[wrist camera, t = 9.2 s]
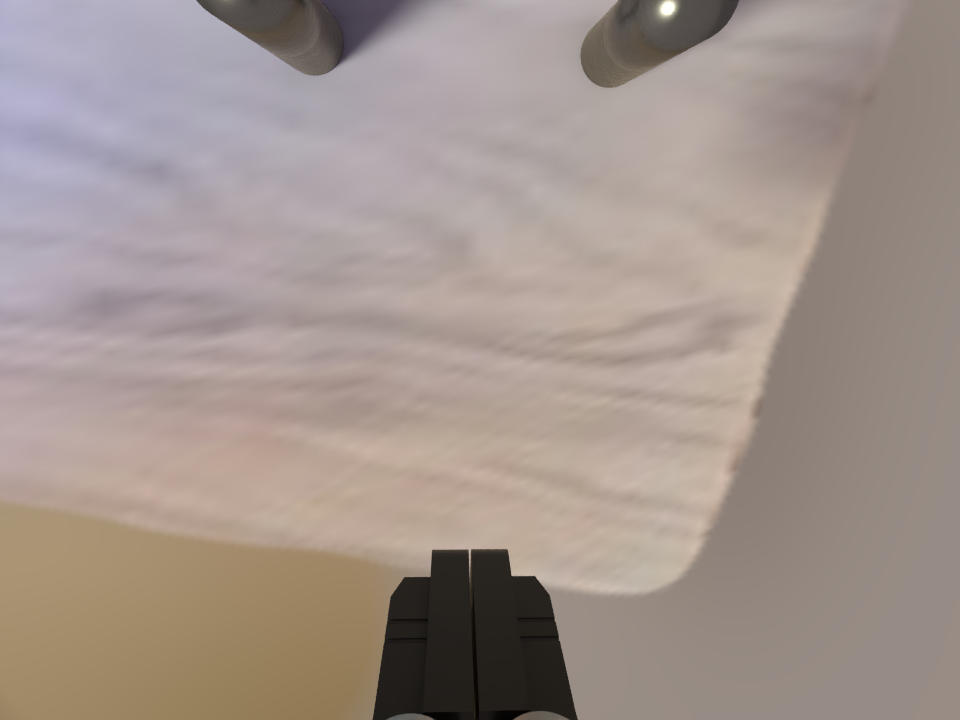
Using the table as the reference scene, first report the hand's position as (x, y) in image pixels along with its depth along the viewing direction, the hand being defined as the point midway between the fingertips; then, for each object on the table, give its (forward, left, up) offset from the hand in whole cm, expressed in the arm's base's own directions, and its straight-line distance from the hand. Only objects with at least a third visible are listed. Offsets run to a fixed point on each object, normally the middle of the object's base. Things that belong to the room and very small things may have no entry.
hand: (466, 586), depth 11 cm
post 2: (-13, +6, -18) cm, 23 cm away
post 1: (-13, -6, -18) cm, 23 cm away
